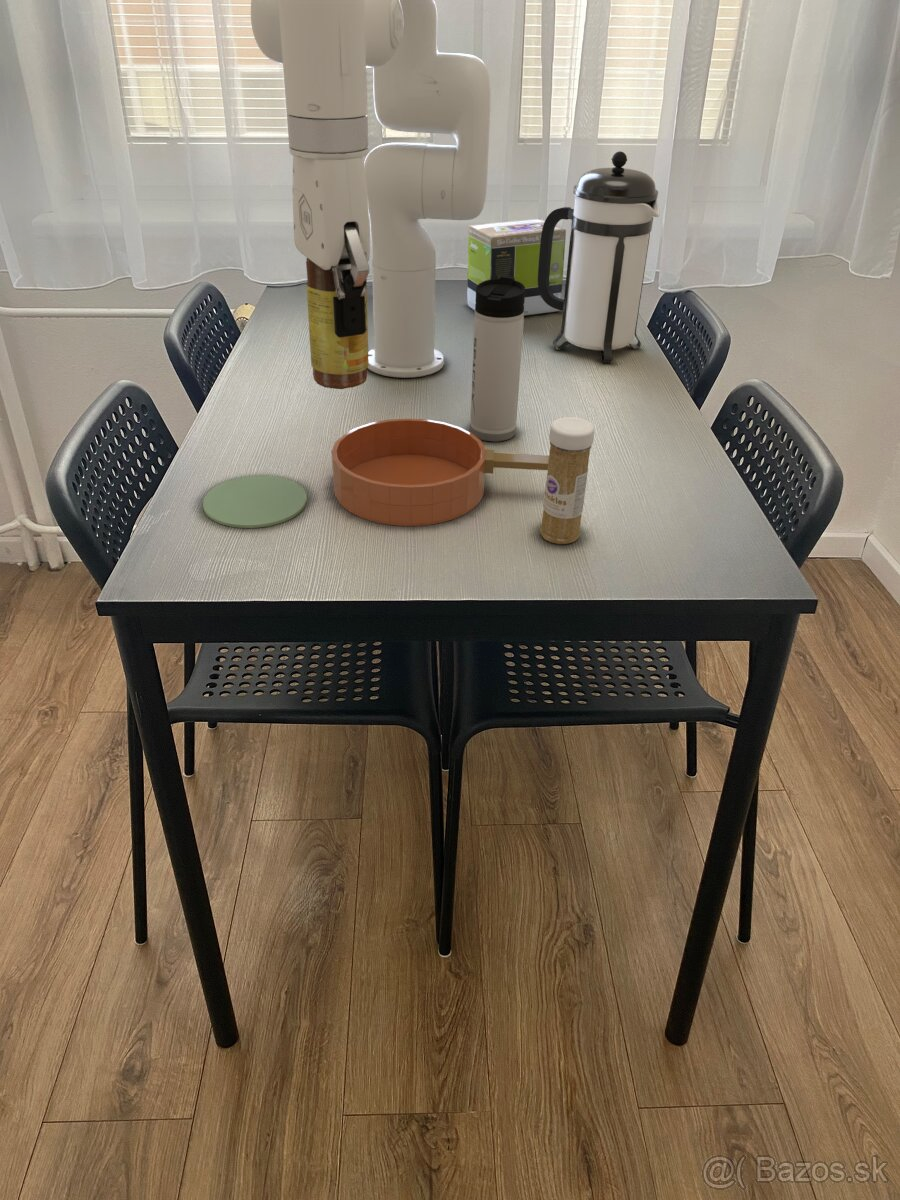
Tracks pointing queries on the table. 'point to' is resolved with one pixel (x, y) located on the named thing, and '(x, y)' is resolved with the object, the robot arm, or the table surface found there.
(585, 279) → the coffee press
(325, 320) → the sauce bottle
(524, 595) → the table surface
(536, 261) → the tea box
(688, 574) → the table surface
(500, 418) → the travel mug
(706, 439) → the table surface
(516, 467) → the pan handle
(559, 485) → the sprinkles bottle
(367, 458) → the pan
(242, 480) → the trivet
